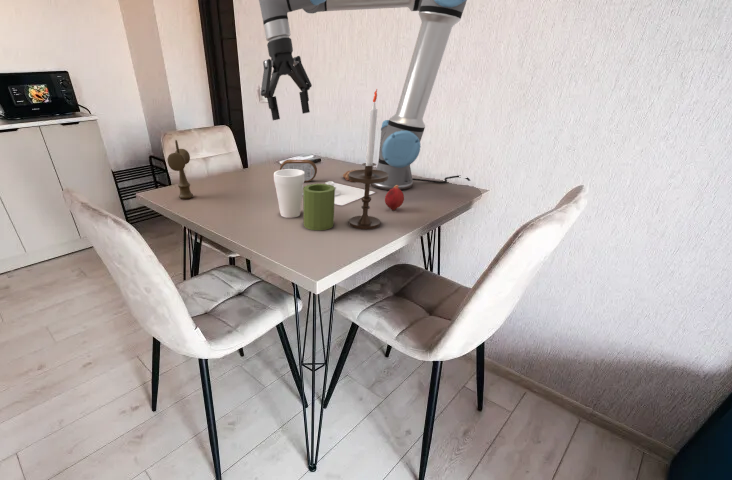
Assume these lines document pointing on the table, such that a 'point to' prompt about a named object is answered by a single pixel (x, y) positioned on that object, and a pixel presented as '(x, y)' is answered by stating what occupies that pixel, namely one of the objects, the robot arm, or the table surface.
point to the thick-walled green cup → (318, 206)
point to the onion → (394, 198)
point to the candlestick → (368, 176)
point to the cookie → (347, 175)
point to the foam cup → (289, 191)
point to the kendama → (180, 170)
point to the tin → (301, 167)
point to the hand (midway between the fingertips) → (291, 116)
